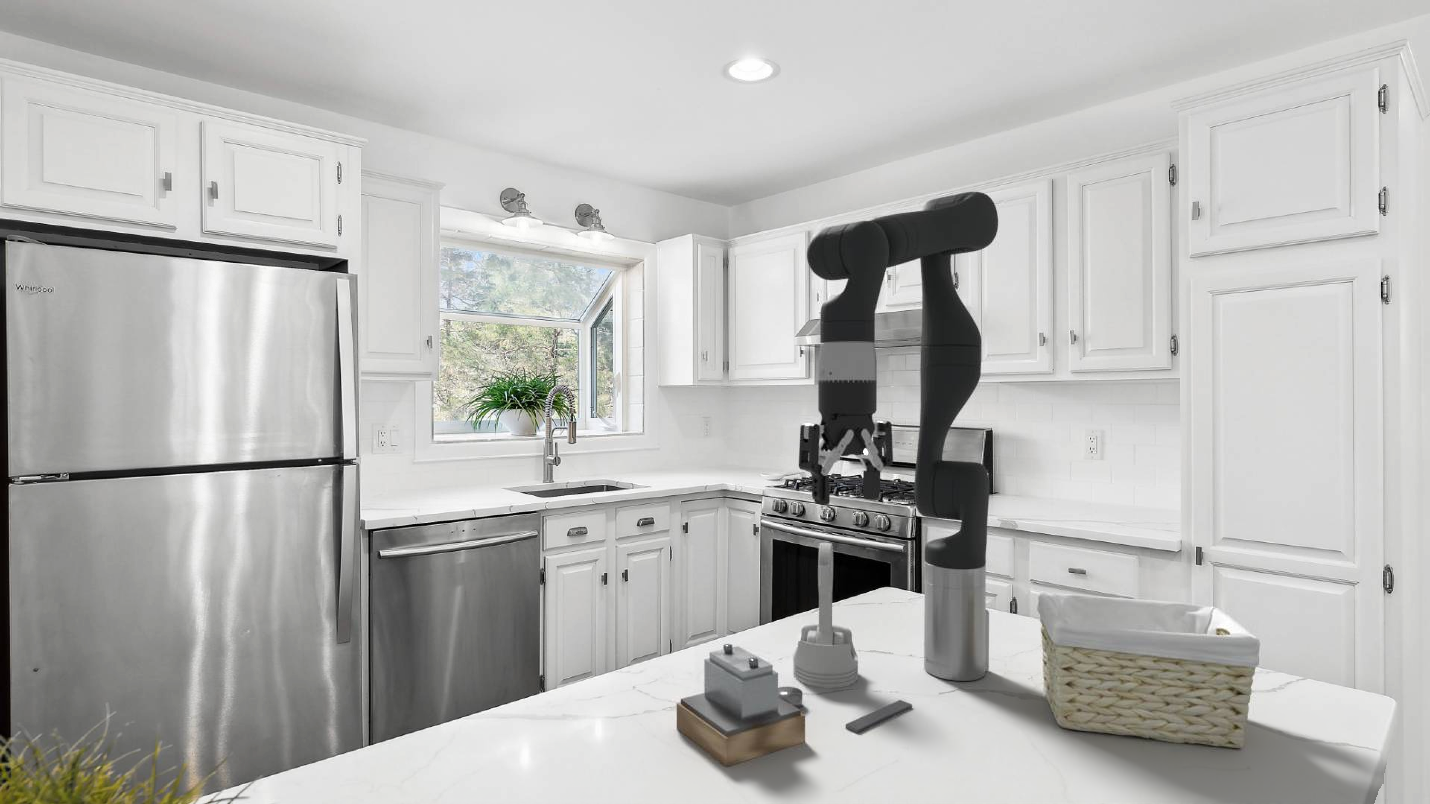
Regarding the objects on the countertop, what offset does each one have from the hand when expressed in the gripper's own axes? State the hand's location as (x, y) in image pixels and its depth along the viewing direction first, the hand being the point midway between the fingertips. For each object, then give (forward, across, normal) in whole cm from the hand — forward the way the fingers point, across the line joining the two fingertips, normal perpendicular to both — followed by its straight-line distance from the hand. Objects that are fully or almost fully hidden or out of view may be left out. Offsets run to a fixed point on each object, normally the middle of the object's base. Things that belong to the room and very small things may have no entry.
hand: (847, 501), depth 100 cm
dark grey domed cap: (+30, -2, +10) cm, 32 cm away
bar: (+31, +6, 0) cm, 31 cm away
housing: (+26, -13, +6) cm, 30 cm away
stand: (+30, -13, +6) cm, 33 cm away
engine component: (+30, +10, +16) cm, 36 cm away
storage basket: (+30, +35, -19) cm, 50 cm away
